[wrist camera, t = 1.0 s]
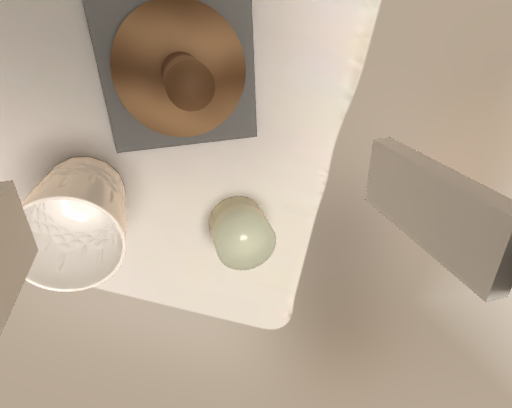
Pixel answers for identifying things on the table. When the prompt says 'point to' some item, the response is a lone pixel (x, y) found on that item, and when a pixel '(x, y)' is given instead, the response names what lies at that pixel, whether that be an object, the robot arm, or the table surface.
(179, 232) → the table surface
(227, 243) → the cream capsule cylinder
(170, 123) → the walnut lid
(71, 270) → the white cup
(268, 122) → the table surface
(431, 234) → the robot arm
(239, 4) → the mat
